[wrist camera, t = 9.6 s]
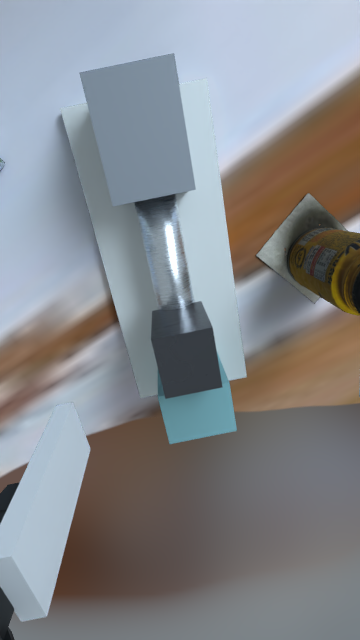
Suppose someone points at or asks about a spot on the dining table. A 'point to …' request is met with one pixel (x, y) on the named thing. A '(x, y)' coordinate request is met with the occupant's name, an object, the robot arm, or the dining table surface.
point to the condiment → (317, 256)
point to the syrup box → (1, 163)
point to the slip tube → (176, 305)
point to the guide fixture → (194, 211)
